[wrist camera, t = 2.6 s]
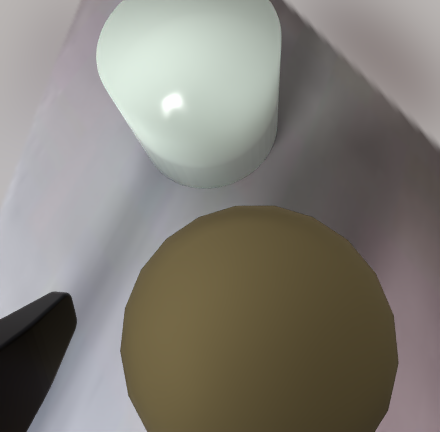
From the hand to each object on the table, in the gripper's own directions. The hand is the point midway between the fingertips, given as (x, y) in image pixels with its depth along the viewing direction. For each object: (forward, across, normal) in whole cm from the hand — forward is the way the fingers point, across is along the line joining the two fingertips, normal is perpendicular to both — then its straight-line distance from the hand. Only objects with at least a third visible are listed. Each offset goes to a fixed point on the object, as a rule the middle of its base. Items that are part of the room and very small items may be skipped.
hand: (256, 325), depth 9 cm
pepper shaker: (+6, 0, +6) cm, 8 cm away
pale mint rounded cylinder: (+13, +3, -1) cm, 13 cm away
